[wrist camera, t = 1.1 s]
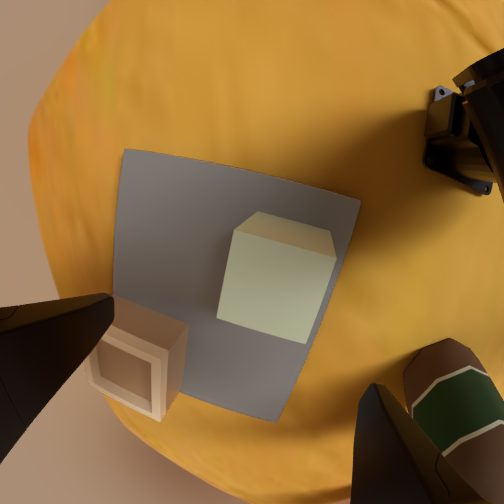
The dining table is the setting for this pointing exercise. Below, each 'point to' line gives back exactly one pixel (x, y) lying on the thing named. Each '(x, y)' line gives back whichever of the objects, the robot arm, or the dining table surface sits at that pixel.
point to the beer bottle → (459, 413)
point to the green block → (276, 276)
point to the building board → (199, 286)
